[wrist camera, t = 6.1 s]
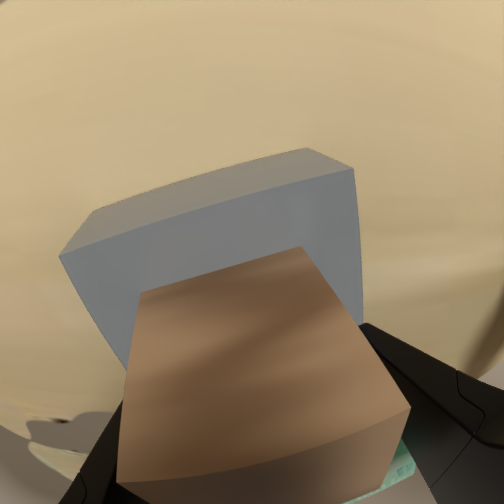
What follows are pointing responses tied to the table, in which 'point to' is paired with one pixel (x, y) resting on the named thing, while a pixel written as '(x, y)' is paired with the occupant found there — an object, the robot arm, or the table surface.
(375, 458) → the block
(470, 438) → the robot arm
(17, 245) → the table surface
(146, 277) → the base
